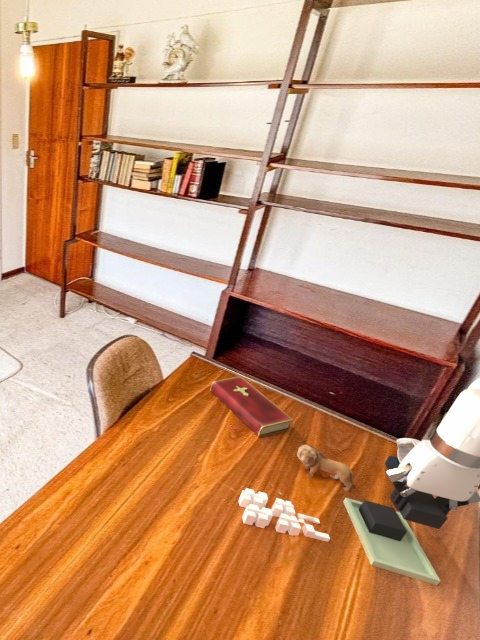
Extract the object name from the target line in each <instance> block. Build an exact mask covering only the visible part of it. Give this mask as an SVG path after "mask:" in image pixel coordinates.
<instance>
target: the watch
mask: <svg viewBox="0 0 480 640" xmlns="http://www.w3.org/2000/svg"><path fill="white" fill-rule="evenodd" d="M421 441H422V440H419V439H416V438H411V437H402V438H398V439H396V443H397V444H396V448H397V456H393V455H388V458H387V459H386V461H385V462H384V465H385V467H386V469H387V470H391V469H395V468H398V466H399V465H400V463H401V462H402V460H403V459H404V458H405V457H406V455H407V454H408V453H409V452H410V451H411V450H412V449H413V448H414V447H415V446H416V445H417V444H419V443H420V442H421ZM401 478H403V477H401Z"/></svg>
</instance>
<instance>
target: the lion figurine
mask: <svg viewBox="0 0 480 640" xmlns="http://www.w3.org/2000/svg"><path fill="white" fill-rule="evenodd" d="M296 456H297V458H298V459H299V460H300V461H301V462H302V463H303V465H304V466H303V468H304V469H305V470H310V471H309V472H308V473H306V476H307V477H309V478H313V477H314V475H315V474H316V472H317V471H318V470H320V471H323V472H326V473H331V474H330V475H329V477H330V478H331V479H333V480H340V482H341V483H342V484H343V485H344V486H345V487H342V490H344V491H345V492H348V493H349V492H350V491H351V490H352V489H353V488H354V489H355V488H356V485H355V484H353V483H354V480H355V479H354V478H355V476H354V472H353V471H352V469H351V468H350V466H348V465H347V464H345V463H344V462H342V461H338V460H334V459H330V458H328V457H326V456H325V455H324V453H323V452H321V451H320V450H318V449H317V448H315V447H314V446H312V445H309V444H301V445H300V446H299V447H298V450H297V452H296ZM333 473H335V475H333ZM349 479H350V480H349ZM351 488H352V489H351Z"/></svg>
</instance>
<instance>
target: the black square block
mask: <svg viewBox="0 0 480 640" xmlns="http://www.w3.org/2000/svg"><path fill="white" fill-rule="evenodd" d="M362 502H363V503H362V505H361V506H360V508H359V512H360V514H361V516H362V518H363V520H364V522H365V524H366V527H367V529H368V531H369V533H373V534H376V535H380V536H383V537H387V538H390V539H394V540H397V541H401V540H402V538H403V537H404V536H405V534H406V533H407V531H406V529H405V527H404V525H403V523H402V522H401V520H400V518H399V516H398V514H397V513H396V512H397V510H396V508H395V507H392V506H388V505H384V504H381V503H377V502H373V501H370V500H366V499H364V500H363V501H362Z"/></svg>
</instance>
